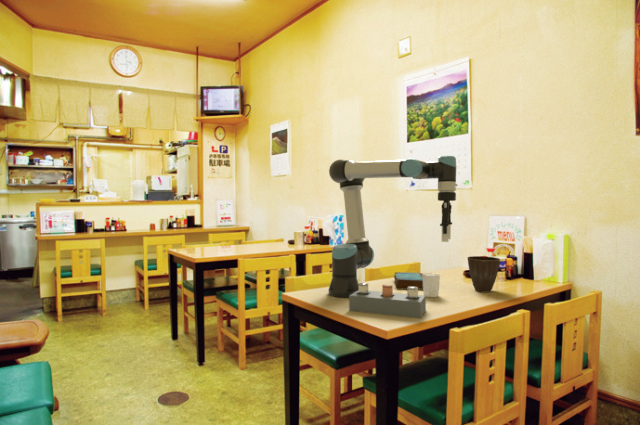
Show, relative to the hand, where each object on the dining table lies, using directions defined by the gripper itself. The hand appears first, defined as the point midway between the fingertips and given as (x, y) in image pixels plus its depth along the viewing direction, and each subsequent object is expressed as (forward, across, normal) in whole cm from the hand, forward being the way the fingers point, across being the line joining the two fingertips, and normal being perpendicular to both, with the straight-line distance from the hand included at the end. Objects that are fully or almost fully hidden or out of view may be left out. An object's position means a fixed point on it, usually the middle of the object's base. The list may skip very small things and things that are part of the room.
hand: (446, 240), depth 175 cm
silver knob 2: (+22, -25, +10) cm, 35 cm away
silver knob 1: (+22, -25, +30) cm, 45 cm away
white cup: (+27, +8, +7) cm, 29 cm away
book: (+28, +32, +19) cm, 46 cm away
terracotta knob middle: (+22, -25, +20) cm, 39 cm away
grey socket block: (+27, -25, +20) cm, 42 cm away
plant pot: (+27, +30, -16) cm, 43 cm away
